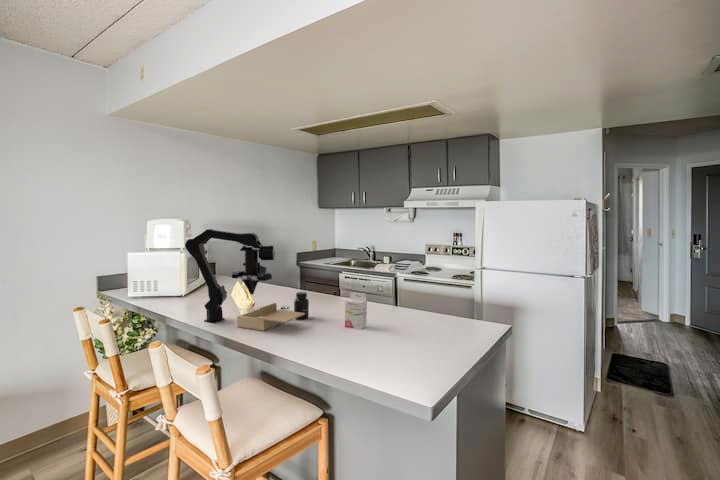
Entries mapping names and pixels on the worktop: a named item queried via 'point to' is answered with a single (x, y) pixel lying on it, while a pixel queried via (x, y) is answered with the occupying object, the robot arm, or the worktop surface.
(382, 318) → the worktop surface
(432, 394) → the worktop surface
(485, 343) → the worktop surface
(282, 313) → the lid
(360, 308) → the ink cartridge box
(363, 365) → the worktop surface
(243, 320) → the mailer box
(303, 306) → the supplement bottle
